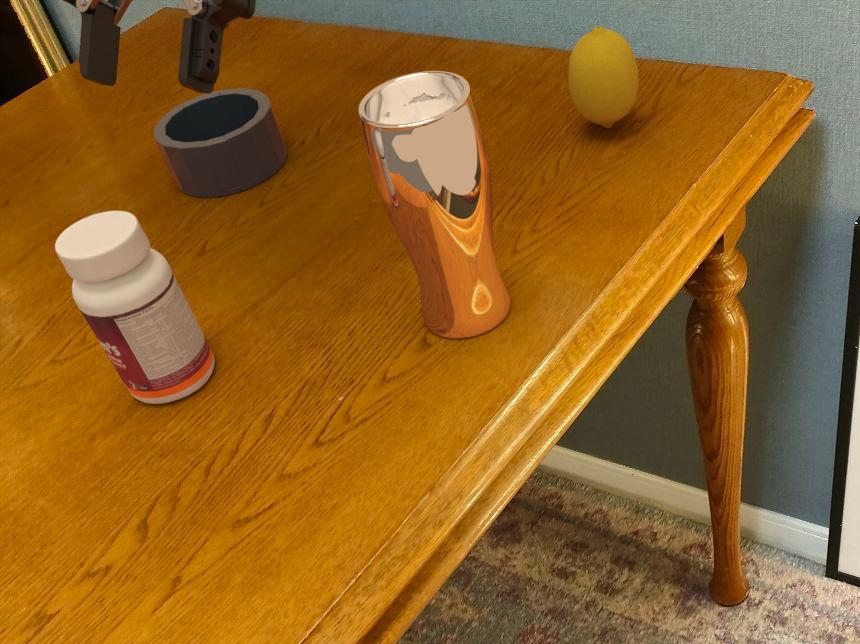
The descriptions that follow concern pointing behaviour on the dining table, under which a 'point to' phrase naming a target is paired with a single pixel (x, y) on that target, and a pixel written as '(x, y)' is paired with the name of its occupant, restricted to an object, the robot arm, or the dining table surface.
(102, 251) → the pill bottle
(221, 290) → the dining table surface
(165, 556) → the dining table surface
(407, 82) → the beer glass
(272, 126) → the holder
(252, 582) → the dining table surface
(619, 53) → the lemon
